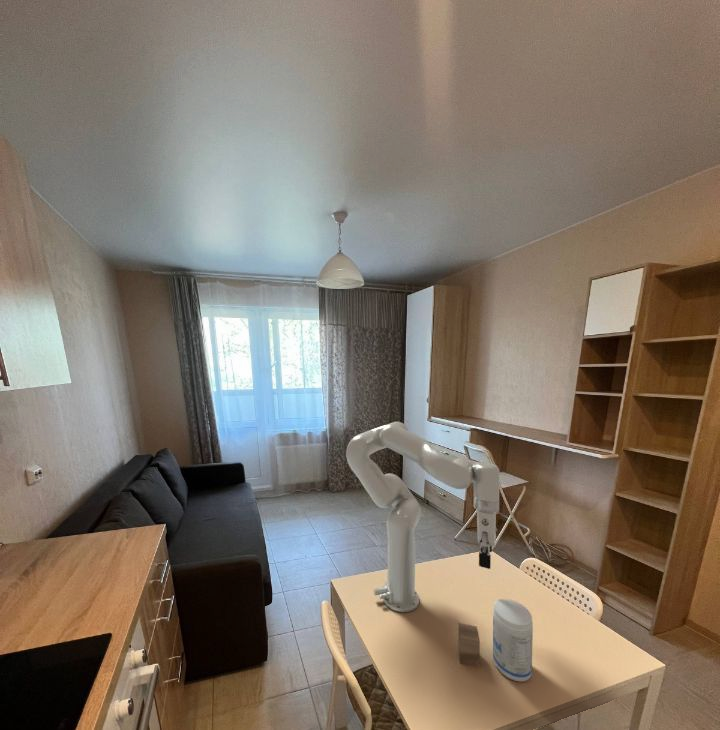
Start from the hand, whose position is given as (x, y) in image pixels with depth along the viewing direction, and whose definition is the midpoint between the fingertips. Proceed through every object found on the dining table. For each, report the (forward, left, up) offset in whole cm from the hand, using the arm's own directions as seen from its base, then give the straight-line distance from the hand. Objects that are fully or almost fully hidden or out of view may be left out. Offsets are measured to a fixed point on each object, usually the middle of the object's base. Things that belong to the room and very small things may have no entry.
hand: (485, 558), depth 96 cm
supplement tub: (-1, -13, -21) cm, 25 cm away
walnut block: (-11, -8, -21) cm, 25 cm away
